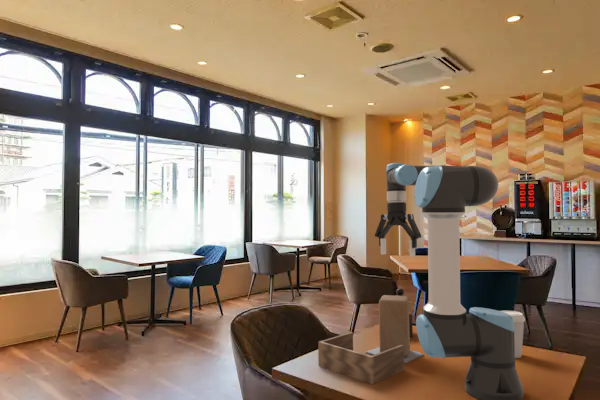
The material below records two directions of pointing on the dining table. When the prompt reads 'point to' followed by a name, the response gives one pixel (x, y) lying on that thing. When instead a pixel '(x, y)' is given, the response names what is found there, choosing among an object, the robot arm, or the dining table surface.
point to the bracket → (359, 359)
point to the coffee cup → (517, 331)
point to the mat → (410, 357)
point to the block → (394, 322)
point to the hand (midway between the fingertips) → (397, 255)
